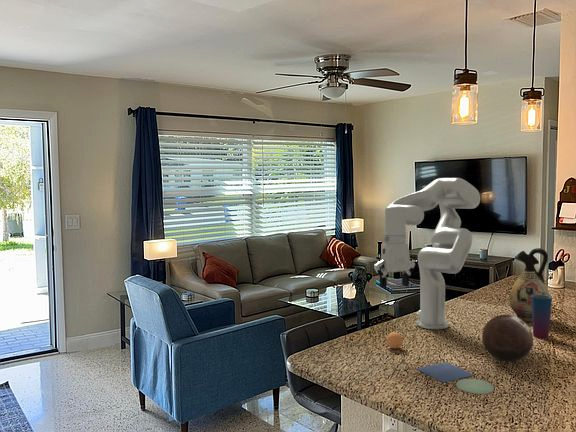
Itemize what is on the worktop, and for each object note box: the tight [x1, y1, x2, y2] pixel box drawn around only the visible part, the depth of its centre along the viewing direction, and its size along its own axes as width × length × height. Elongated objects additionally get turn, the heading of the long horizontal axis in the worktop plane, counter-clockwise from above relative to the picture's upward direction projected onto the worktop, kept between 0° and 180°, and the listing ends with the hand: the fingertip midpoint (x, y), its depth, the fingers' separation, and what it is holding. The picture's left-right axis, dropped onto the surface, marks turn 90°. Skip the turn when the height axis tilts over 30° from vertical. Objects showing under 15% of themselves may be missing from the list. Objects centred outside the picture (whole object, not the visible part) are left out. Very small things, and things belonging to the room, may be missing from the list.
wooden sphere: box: [481, 314, 534, 364], centre depth 162 cm, size 15×15×15 cm
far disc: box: [455, 378, 495, 395], centre depth 144 cm, size 10×10×1 cm
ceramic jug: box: [508, 247, 551, 323], centre depth 208 cm, size 17×15×30 cm
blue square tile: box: [416, 361, 475, 384], centre depth 155 cm, size 12×12×1 cm
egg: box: [386, 331, 404, 350], centre depth 177 cm, size 6×6×6 cm
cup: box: [531, 294, 553, 339], centre depth 186 cm, size 7×7×15 cm
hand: (394, 286), depth 184 cm, fingers open, 9 cm apart
